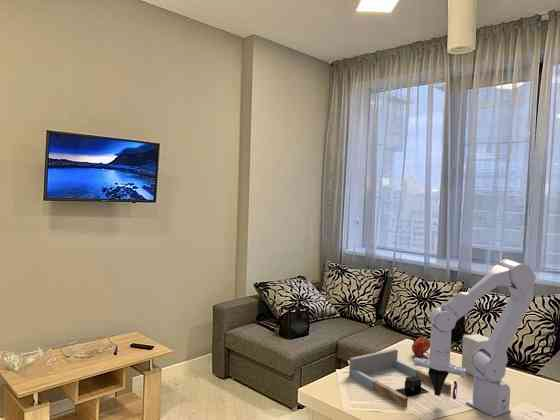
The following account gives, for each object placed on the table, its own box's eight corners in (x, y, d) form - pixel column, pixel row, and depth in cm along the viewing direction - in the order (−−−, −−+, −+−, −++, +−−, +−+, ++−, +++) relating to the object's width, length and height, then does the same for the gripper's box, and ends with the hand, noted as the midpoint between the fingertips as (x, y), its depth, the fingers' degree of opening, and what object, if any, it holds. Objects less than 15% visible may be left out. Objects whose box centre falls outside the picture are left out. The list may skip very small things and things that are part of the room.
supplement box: (492, 375, 155) (494, 340, 154) (476, 378, 152) (478, 342, 152) (476, 367, 162) (478, 333, 161) (460, 370, 159) (462, 335, 158)
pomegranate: (430, 360, 174) (411, 340, 178) (442, 349, 170) (422, 328, 174) (422, 367, 168) (403, 346, 173) (433, 356, 164) (413, 335, 169)
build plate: (419, 385, 147) (420, 371, 146) (436, 395, 140) (437, 380, 140) (389, 391, 141) (390, 376, 141) (405, 401, 135) (406, 386, 134)
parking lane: (450, 392, 141) (451, 373, 140) (403, 406, 130) (404, 386, 130) (393, 364, 162) (394, 348, 161) (349, 375, 151) (349, 358, 150)
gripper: (468, 350, 131) (466, 395, 132) (418, 340, 139) (416, 383, 139) (464, 358, 125) (461, 405, 126) (412, 347, 133) (410, 391, 133)
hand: (437, 394), depth 132 cm, fingers closed
